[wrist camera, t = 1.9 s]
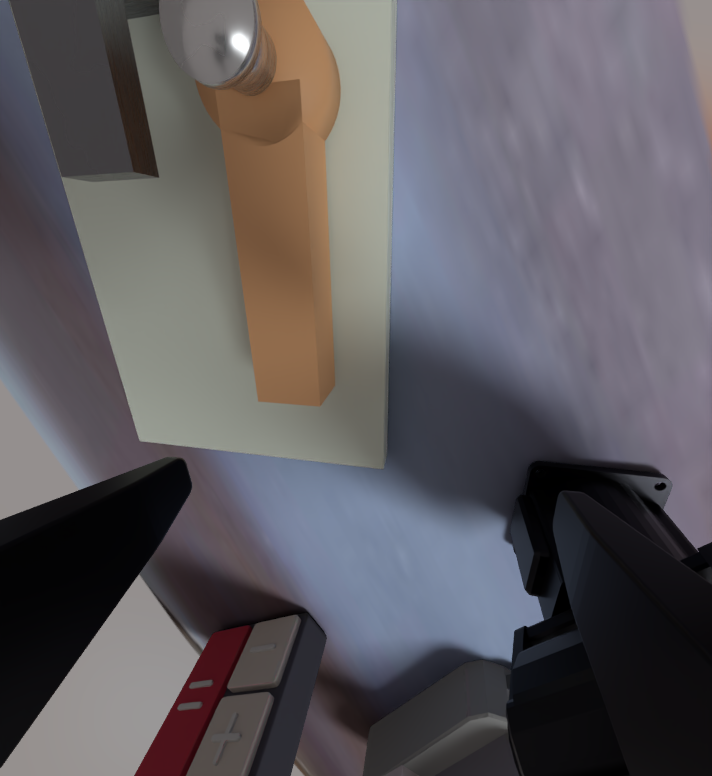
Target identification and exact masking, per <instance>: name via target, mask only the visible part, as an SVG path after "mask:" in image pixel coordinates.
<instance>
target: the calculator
mask: <svg viewBox="0 0 712 776" xmlns="http://www.w3.org/2000/svg"><path fill="white" fill-rule="evenodd" d="M326 639H327V637H326V635H325V633H324V632H323V631H322V630H321V629H320V627H319V626H318V625H317V624H316V623H315V621H314V620H313V619H312V618H311V617H310V616H309V614H308V613H302V614H297V615H291V616H287V617H282V618H278V619H273V620H269V621H264V622H260V623H256V624H252V625H246V626H241V627H237V628H232V629H228V630H223V631H218V632H215V633H213V634H212V636H211V638H210V639H209V641H208V643H207V645H206V647H205V648H204V650H203V652H202V654H201V656H200V657H199V659H198V661H197V663H196V665H195V667H194V668H193V670H192V672H191V674H190V676H189V678H188V679H187V681H186V683H185V685H184V686H183V688H182V690H181V692H180V694H179V696H178V697H177V699H176V701H175V703H174V705H173V706H172V708H171V710H170V712H169V714H168V715H167V717H166V719H165V721H164V723H163V725H162V726H161V728H160V730H159V732H158V734H157V736H156V737H155V739H154V741H153V743H152V744H151V746H150V748H149V750H148V752H147V754H146V755H145V757H144V759H143V761H142V763H141V764H140V766H139V768H138V770H137V772H136V774H135V775H134V776H291V772H292V768H293V764H294V761H295V757H296V753H297V749H298V745H299V742H300V738H301V734H302V730H303V726H304V723H305V719H306V715H307V711H308V708H309V704H310V700H311V696H312V692H313V689H314V685H315V681H316V677H317V674H318V670H319V666H320V662H321V658H322V655H323V651H324V647H325V643H326Z"/></svg>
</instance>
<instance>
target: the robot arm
mask: <svg viewBox="0 0 712 776" xmlns="http://www.w3.org/2000/svg"><path fill="white" fill-rule="evenodd" d="M541 469H542V470H543V472H541V473H536V471H537V470H541ZM660 482H662V483H661V484H660V485H657V486H655V485H656V484H657V483H660ZM191 489H192V482H191V478H190V475H189V471H188V468H187V464H186V462H185V460H184V459H182V458H177V457H166V458H163V459H161V460H158V461H155V462H153V463H150V464H147V465H145V466H142V467H139V468H137V469H134V470H132V471H129V472H126V473H124V474H121V475H118V476H116V477H113V478H110V479H108V480H105V481H102V482H100V483H97V484H94V485H92V486H89V487H86V488H84V489H81V490H78V491H76V492H74V493H71V494H68V495H65V496H63V497H60V498H58V499H55V500H52V501H49V502H47V503H44V504H41V505H39V506H36V507H33V508H31V509H29V510H26V511H23V512H20V513H17V514H15V515H12V516H10V517H7V518H5V519H2V520H0V768H1V767H2V766H3V764H4V763H5V761H6V760H7V759H8V757H9V756H10V754H11V753H12V752H13V750H14V749H15V747H16V746H17V745H18V743H19V742H20V740H21V739H22V737H23V736H24V734H25V733H26V732H27V730H28V729H29V728H30V726H31V725H32V723H33V722H34V721H35V719H36V718H37V716H38V715H39V714H40V712H41V711H42V709H43V708H44V707H45V705H46V704H47V702H48V701H49V700H50V698H51V697H52V695H53V694H54V693H55V691H56V690H57V688H58V687H59V685H60V684H61V683H62V681H63V680H64V678H65V677H66V676H67V674H68V673H69V671H70V670H71V669H72V667H73V666H74V664H75V663H76V661H77V660H78V659H79V657H80V656H81V655H82V653H83V652H84V650H85V649H86V648H87V646H88V645H89V643H90V642H91V640H92V639H93V638H94V636H95V635H96V634H97V632H98V630H99V629H100V628H101V626H102V625H103V624H104V622H105V621H106V619H107V618H108V617H109V615H110V614H111V613H112V611H113V610H114V608H115V607H116V606H117V604H118V603H119V601H120V600H121V598H122V597H123V596H124V594H125V593H126V591H127V590H128V589H129V587H130V586H131V584H132V583H133V582H134V580H135V579H136V577H137V576H138V575H139V573H140V572H141V570H142V569H143V568H144V566H145V565H146V563H147V562H148V561H149V559H150V558H151V556H152V555H153V554H154V552H155V551H156V549H157V548H158V546H159V545H160V543H161V542H162V540H163V538H164V537H165V535H166V533H167V532H168V530H169V528H170V527H171V525H172V523H173V521H174V520H175V518H176V516H177V515H178V513H179V511H180V510H181V508H182V506H183V505H184V503H185V501H186V499H187V498H188V496H189V494H190V492H191ZM671 489H672V483H671V481H670V480H669V479H668V478H667V477H666V476H665V475H663V474H659V473H650V472H640V471H630V470H621V469H611V468H601V467H591V466H582V465H572V464H562V463H552V462H543V461H536V462H534V463H532V464H531V465H530V466H529V468H528V473H527V478H526V483H525V487H524V492H523V495H520V496H518V497H517V499H516V504H515V509H514V514H513V519H512V523H511V528H510V532H511V536H512V540H513V549H514V552H515V554H516V557H517V561H518V565H519V569H520V573H521V577H522V581H523V585H524V589H525V590H526V592H527V593H528V594H529V595H532V596H538V600H539V603H540V607H541V611H542V614H543V618H544V621H541V622H539V623H537V624H535V625H532V626H530V627H527V626H523V627H521V628H519V629H517V630H515V631H514V642H513V654H512V665H511V677H510V689H509V700H508V701H507V703H506V718H507V728H508V735H509V743H510V747H511V750H512V754H513V758H514V762H515V765H516V768H517V771H518V774H519V776H712V542H711V543H709V544H707V545H704V546H702V547H700V548H698V551H699V552H698V551H697V550H696V549H695V548H694V546H693V545H692V544H691V543H690V542H689V540H688V539H687V538H686V537H685V536H684V534H683V533H682V532H681V531H680V530H679V528H678V527H677V526H676V525H675V524H674V522H673V521H672V520H671V519H670V518H669V516H668V515H667V514H666V513H665V512H664V510H663V509H664V506H665V504H666V501H667V499H668V496H669V494H670V492H671Z"/></svg>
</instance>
